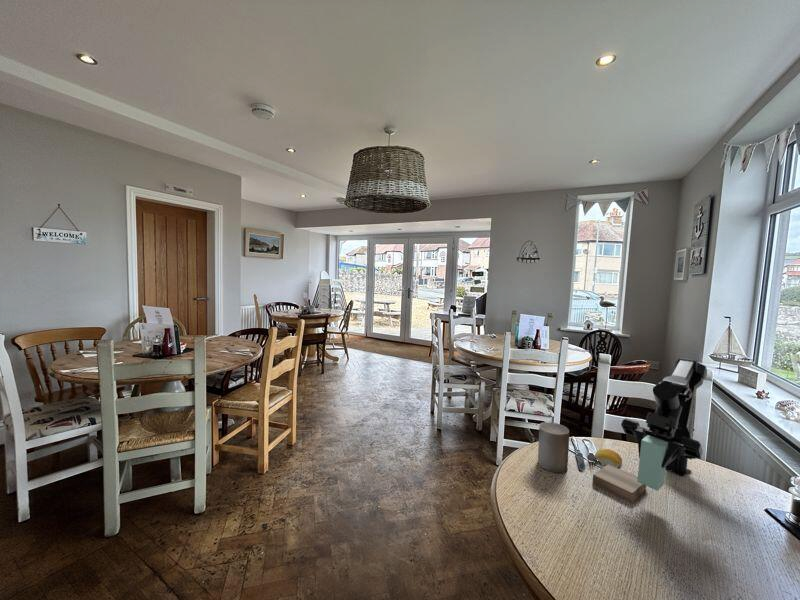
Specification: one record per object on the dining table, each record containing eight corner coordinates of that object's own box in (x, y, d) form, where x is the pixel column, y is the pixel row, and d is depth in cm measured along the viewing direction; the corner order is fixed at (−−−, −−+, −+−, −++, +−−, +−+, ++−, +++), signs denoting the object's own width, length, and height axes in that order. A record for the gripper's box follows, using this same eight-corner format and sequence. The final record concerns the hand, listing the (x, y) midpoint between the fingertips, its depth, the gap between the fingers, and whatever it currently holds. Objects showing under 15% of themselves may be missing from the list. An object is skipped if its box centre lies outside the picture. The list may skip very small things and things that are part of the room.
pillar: (643, 475, 101) (647, 435, 99) (663, 484, 97) (668, 442, 95) (637, 481, 98) (641, 439, 97) (657, 491, 94) (662, 447, 93)
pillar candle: (570, 465, 117) (573, 424, 116) (562, 477, 110) (565, 433, 109) (542, 455, 124) (544, 416, 123) (533, 466, 116) (535, 424, 115)
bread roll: (623, 461, 121) (624, 450, 121) (618, 471, 115) (619, 460, 115) (597, 452, 127) (598, 442, 127) (591, 461, 120) (592, 451, 120)
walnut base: (607, 472, 113) (608, 464, 113) (645, 489, 105) (646, 480, 104) (592, 483, 107) (593, 474, 107) (631, 502, 98) (632, 493, 98)
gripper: (625, 393, 105) (608, 436, 99) (703, 413, 90) (689, 466, 85) (633, 411, 111) (617, 453, 105) (708, 433, 96) (694, 484, 90)
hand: (651, 463), depth 96 cm, fingers closed on pillar, 5 cm apart
